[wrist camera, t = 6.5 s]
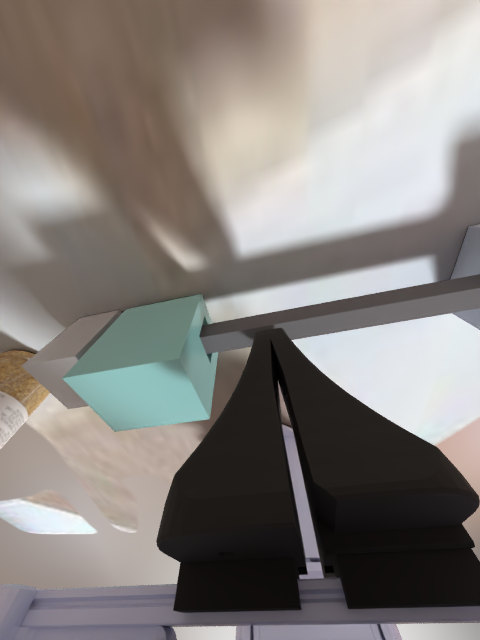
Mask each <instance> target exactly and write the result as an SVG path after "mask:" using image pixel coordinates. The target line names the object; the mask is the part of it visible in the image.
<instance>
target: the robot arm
mask: <svg viewBox="0 0 480 640" xmlns="http://www.w3.org/2000/svg"><path fill="white" fill-rule="evenodd" d="M278 382H279V385H280V388H281V392H282V395H283V398H284V402H285V405H286V408H287V411H288V415H289V418H290V421H291V425H292V428H290V427H288V426H285V425H283V424H282V419H281V409H280V398H279V388H278ZM479 503H480V500H479V496H478V495H477V493H476V492H475V491H474V489H473V488H472V487H471V486H470V484H469V483H468V482H467V480H466V479H465V478H464V477H463V475H462V474H461V473H460V472H459V471H458V470H457V468H456V467H455V466H454V465H453V464H452V463H451V462H450V461H449V460H448V458H447V457H446V456H445V455H444V454H443V453H442V452H441V451H440V450H439V449H438V448H437V447H436V446H434V445H432V444H430V443H428V442H427V441H425V440H423V439H421V438H419V437H418V436H416V435H414V434H412V433H410V432H408V431H407V430H405V429H403V428H401V427H400V426H398V425H396V424H394V423H393V422H391V421H390V420H388V419H386V418H385V417H383V416H382V415H380V414H378V413H377V412H375V411H374V410H372V409H371V408H369V407H368V406H366V405H365V404H363V403H362V402H360V401H359V400H357V399H356V398H354V397H353V396H351V395H350V394H349V393H347V392H346V391H345V390H343V389H342V388H341V387H339V386H338V385H337V384H335V383H334V382H333V381H332V380H331V379H329V378H328V377H327V376H326V375H325V374H323V373H322V372H321V371H320V370H319V369H318V368H317V367H316V366H315V365H314V364H313V363H311V362H310V361H309V360H308V359H307V358H306V357H305V355H304V354H303V353H302V352H301V351H300V350H299V349H298V348H297V347H296V346H295V344H294V343H293V342H292V341H291V339H290V338H289V337H288V335H287V334H286V332H285V331H284V329H283V328H276V329H270V330H265V331H259V332H256V333H255V334H254V340H253V345H252V348H251V352H250V355H249V358H248V361H247V364H246V366H245V369H244V371H243V373H242V376H241V378H240V380H239V383H238V385H237V387H236V389H235V391H234V392H233V394H232V396H231V398H230V400H229V401H228V403H227V405H226V407H225V408H224V410H223V412H222V413H221V415H220V416H219V418H218V419H217V421H216V422H215V424H214V425H213V426H212V428H211V429H210V431H209V432H208V434H207V435H206V436H205V438H204V439H203V441H202V442H201V443H200V444H199V446H198V447H197V448H196V449H195V451H194V452H193V453H192V454H191V456H190V457H189V458H188V459H187V460H186V462H185V463H184V464H183V465H182V467H181V468H180V469H179V470H178V471H177V473H176V474H175V476H174V478H173V481H172V484H171V487H170V490H169V493H168V496H167V500H166V503H165V507H164V511H163V515H162V520H161V524H160V528H159V533H158V537H157V546H158V547H159V550H160V551H162V552H163V553H165V554H167V555H168V556H170V557H172V558H174V559H176V560H177V561H179V562H181V563H180V569H179V576H178V583H177V584H166V585H140V586H114V587H91V588H90V587H89V588H63V589H39V590H37V589H36V587H31V586H26V585H16V584H5V585H0V640H177V639H176V634H175V632H174V629H173V628H172V627H189V626H236V640H402V638H401V636H400V633H399V630H398V628H397V626H396V624H404V623H405V624H406V623H407V624H408V623H476V622H477V623H480V561H479V560H478V558H477V557H476V555H475V554H474V552H473V551H472V549H471V548H473V547H475V545H474V542H473V540H472V539H471V537H470V536H469V534H468V533H467V531H466V530H465V528H464V527H463V525H462V523H463V521H465V520H466V519H467V518H468V517H469V516H471V515H472V514H473V513H474V512H475V511H476V509H477V508H478V507H479Z"/></svg>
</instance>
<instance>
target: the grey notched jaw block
mask: <svg viewBox="0 0 480 640" xmlns="http://www.w3.org/2000/svg"><path fill="white" fill-rule="evenodd" d="M478 274H480V224H477V225H473V226H469V227H468V230H467V233H466V236H465V239H464V242H463V244H462V247H461V250H460V253H459V256H458V259H457V262H456V265H455V267H454V270H453V273H452V276H451V279H456V278H462V277H467V276H472V275H478ZM451 279H450V280H451ZM452 314H454V315H456V316H458V317H459V318H461V319H463V320H464V321H466V322H468V323H469V324H471V325H473V326H474V327H476V328H478V329H479V330H480V308H478V309H472V310H466V311H460V312H454V313H452Z"/></svg>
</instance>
